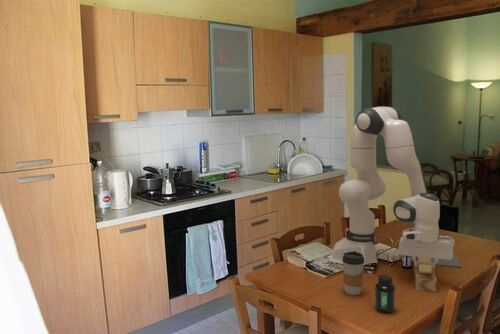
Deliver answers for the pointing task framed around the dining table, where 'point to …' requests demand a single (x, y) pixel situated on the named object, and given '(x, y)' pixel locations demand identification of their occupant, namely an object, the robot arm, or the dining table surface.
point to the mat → (447, 262)
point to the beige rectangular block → (424, 265)
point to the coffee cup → (353, 272)
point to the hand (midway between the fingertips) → (424, 267)
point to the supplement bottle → (385, 294)
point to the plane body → (425, 280)
